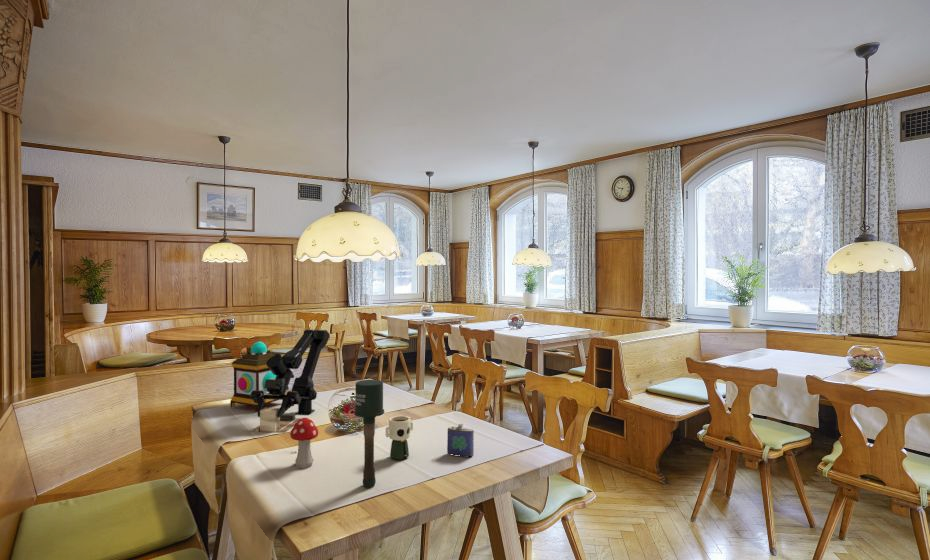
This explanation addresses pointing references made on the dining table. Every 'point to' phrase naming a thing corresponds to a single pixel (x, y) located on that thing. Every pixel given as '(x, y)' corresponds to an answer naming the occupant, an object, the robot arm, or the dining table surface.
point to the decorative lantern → (251, 375)
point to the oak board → (282, 423)
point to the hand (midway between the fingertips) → (268, 416)
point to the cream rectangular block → (269, 420)
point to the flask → (460, 441)
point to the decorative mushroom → (304, 441)
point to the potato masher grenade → (369, 421)
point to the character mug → (399, 435)
